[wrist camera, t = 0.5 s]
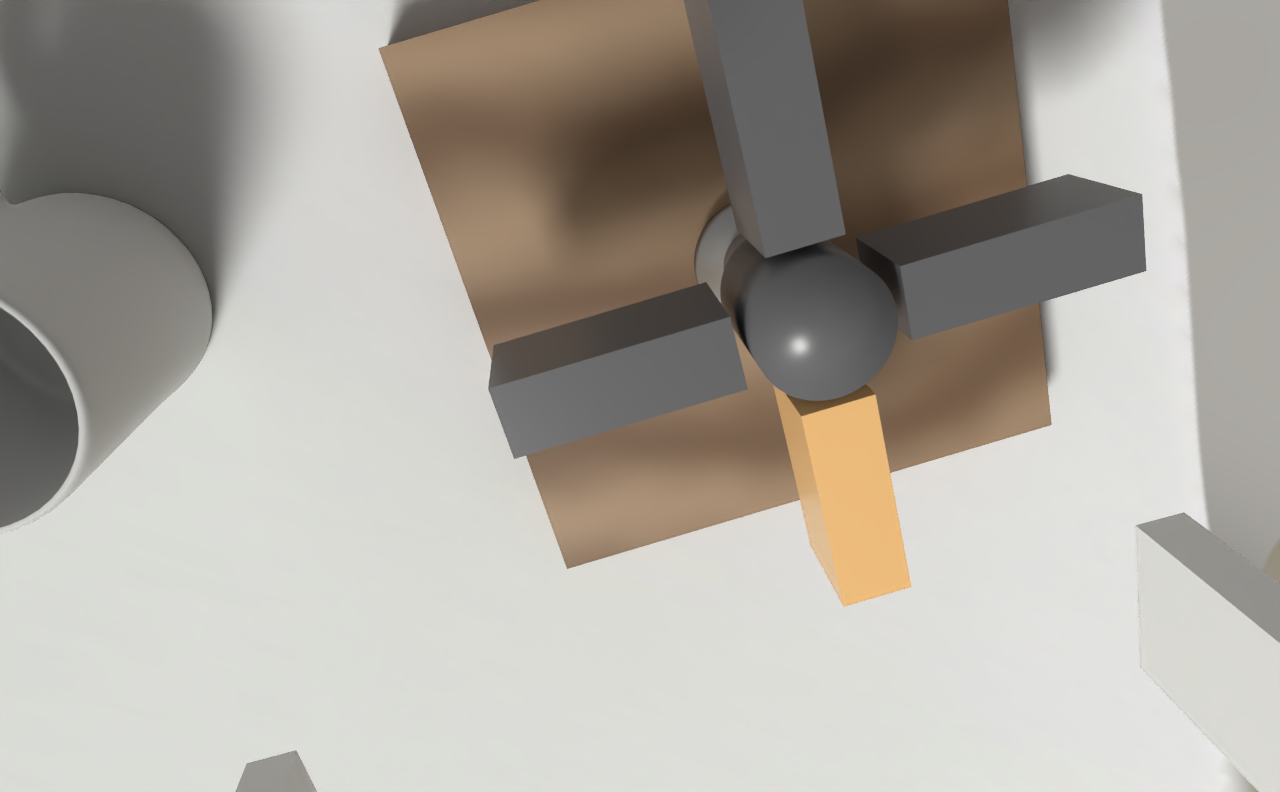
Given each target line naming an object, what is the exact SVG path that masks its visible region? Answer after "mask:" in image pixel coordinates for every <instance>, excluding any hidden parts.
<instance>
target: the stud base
mask: <svg viewBox="0 0 1280 792" xmlns="http://www.w3.org/2000/svg"><path fill="white" fill-rule="evenodd" d="M802 1H803V6H804V12H805V17H806V22H807V28H808V33H809V39H810V44H811V49H812V55H813V60H814V66H815V71H816V76H817V82H818V87H819V92H820V98H821V103H822V109H823V114H824V119H825V125H826V130H827V136H828V141H829V146H830V152H831V157H832V162H833V168H834V173H835V179H836V184H837V189H838V195H839V200H840V206H841V211H842V216H843V222H844V227H845V233H846V234H845V235H842V236H839V237H835V238H832V239H829V240H830V241H831V242H833V243H834V244H835V245H837V246H838V247H840V248H841V249H842V250H844V251H845V252H847V253H848V254H849V255H851V256H852V257H854V258H855V259H856V260H858V261H859V262H860V259H859V254H858V248H857V243H856V237H859V236H862V235H866V234H869V233H872V232H876V231H879V230H883V229H886V228H889V227H893V226H896V225H899V224H903V223H906V222H909V221H913V220H916V219H920V218H923V217H926V216H930V215H933V214H936V213H940V212H943V211H946V210H950V209H953V208H956V207H960V206H963V205H967V204H970V203H973V202H977V201H980V200H983V199H987V198H990V197H993V196H997V195H1000V194H1004V193H1007V192H1010V191H1014V190H1017V189H1020V188H1024V187H1027V183H1026V173H1025V163H1024V154H1023V144H1022V134H1021V125H1020V115H1019V105H1018V96H1017V86H1016V76H1015V66H1014V57H1013V47H1012V37H1011V28H1010V18H1009V8H1008V0H802ZM379 51H380V54H381V57H382V59H383V62H384V65H385V68H386V70H387V73H388V76H389V79H390V81H391V84H392V87H393V90H394V93H395V95H396V98H397V101H398V104H399V106H400V109H401V112H402V115H403V117H404V120H405V123H406V126H407V128H408V131H409V134H410V137H411V139H412V142H413V145H414V148H415V150H416V153H417V156H418V159H419V161H420V164H421V167H422V170H423V172H424V175H425V178H426V181H427V183H428V186H429V189H430V192H431V195H432V197H433V200H434V203H435V206H436V208H437V211H438V214H439V217H440V219H441V222H442V225H443V228H444V230H445V233H446V236H447V239H448V241H449V244H450V247H451V250H452V252H453V255H454V258H455V261H456V263H457V266H458V269H459V272H460V274H461V277H462V280H463V283H464V285H465V288H466V291H467V294H468V297H469V299H470V302H471V305H472V308H473V310H474V313H475V316H476V319H477V321H478V324H479V327H480V330H481V332H482V335H483V338H484V341H485V343H486V346H487V349H488V352H489V354H490V357H491V360H492V355H493V347H494V345H496V344H500V343H503V342H506V341H510V340H513V339H516V338H520V337H523V336H526V335H530V334H533V333H537V332H540V331H543V330H547V329H550V328H553V327H557V326H560V325H563V324H567V323H570V322H573V321H577V320H580V319H584V318H587V317H590V316H594V315H597V314H600V313H604V312H607V311H610V310H614V309H617V308H621V307H624V306H627V305H631V304H634V303H637V302H641V301H644V300H647V299H651V298H654V297H657V296H661V295H664V294H668V293H671V292H674V291H678V290H681V289H684V288H688V287H691V286H694V285H698V284H701V283H704V282H707V284H708V285H709V287H710V288H711V290H712V291H713V293H714V294H715V296H716V297H717V298H718V300H719V301H720V303H721V298H720V287H721V279H722V275H723V272H724V269H725V266H726V264H727V262H728V260H729V258H730V257H731V255H732V254H733V252H734V251H735V250H736V249H737V248H738V246H739V245H740V244H741V243H743V242H744V241H745V240H746V238H745V237H744V236H743V235H742V234H741V233H740V232H739V231H738V230H737V228H736V223H735V219H734V215H733V210H732V206H731V202H730V198H729V193H728V189H727V185H726V181H725V176H724V172H723V168H722V163H721V159H720V155H719V151H718V146H717V142H716V138H715V133H714V129H713V125H712V121H711V116H710V112H709V108H708V103H707V99H706V95H705V91H704V86H703V82H702V78H701V73H700V69H699V65H698V61H697V56H696V52H695V48H694V43H693V39H692V35H691V31H690V26H689V22H688V18H687V13H686V9H685V5H684V1H683V0H539V1H535V2H532V3H529V4H525V5H522V6H519V7H515V8H512V9H509V10H505V11H502V12H499V13H495V14H492V15H488V16H485V17H482V18H478V19H475V20H472V21H468V22H465V23H462V24H458V25H455V26H452V27H448V28H445V29H442V30H438V31H435V32H431V33H428V34H425V35H421V36H418V37H415V38H411V39H408V40H405V41H401V42H398V43H395V44H391V45H388V46H385V47H381V48H379ZM733 331H734V335H735V339H736V343H737V347H738V351H739V355H740V359H741V363H742V367H743V371H744V375H745V379H746V383H747V388H748V389H747V390H744V391H741V392H737V393H734V394H731V395H727V396H724V397H721V398H717V399H714V400H710V401H707V402H704V403H700V404H697V405H694V406H690V407H687V408H684V409H680V410H677V411H673V412H670V413H667V414H663V415H660V416H657V417H653V418H650V419H647V420H643V421H640V422H636V423H633V424H630V425H626V426H623V427H620V428H616V429H613V430H610V431H606V432H603V433H599V434H596V435H593V436H589V437H586V438H583V439H579V440H576V441H573V442H569V443H566V444H562V445H559V446H556V447H552V448H549V449H546V450H542V451H539V452H536V453H532V454H529V455H526V456H527V459H528V462H529V465H530V467H531V470H532V473H533V476H534V478H535V481H536V484H537V487H538V490H539V492H540V495H541V498H542V501H543V503H544V506H545V509H546V512H547V514H548V517H549V520H550V523H551V525H552V528H553V531H554V534H555V536H556V539H557V542H558V545H559V547H560V550H561V553H562V556H563V558H564V561H565V564H566V567H567V569H568V568H571V567H575V566H578V565H582V564H585V563H588V562H592V561H595V560H598V559H602V558H605V557H608V556H612V555H615V554H619V553H622V552H625V551H629V550H632V549H635V548H639V547H642V546H645V545H649V544H652V543H656V542H659V541H662V540H666V539H669V538H672V537H676V536H679V535H682V534H686V533H689V532H693V531H696V530H699V529H703V528H706V527H709V526H713V525H716V524H719V523H723V522H726V521H730V520H733V519H736V518H740V517H743V516H746V515H750V514H753V513H756V512H760V511H763V510H767V509H770V508H773V507H777V506H780V505H783V504H787V503H790V502H793V501H797V500H800V498H799V493H798V489H797V485H796V480H795V476H794V472H793V468H792V463H791V459H790V455H789V450H788V446H787V442H786V438H785V433H784V429H783V425H782V420H781V416H780V412H779V408H778V403H777V399H776V395H775V390H774V386H773V384H772V383H771V382H770V381H769V380H768V379H767V378H766V377H765V375H764V374H763V372H762V371H761V369H760V368H759V366H758V365H757V363H756V362H755V360H754V359H753V357H752V356H751V354H750V353H749V351H748V350H747V348H746V347H745V345H744V344H743V342H742V341H741V339H740V338H739V336H738V335H737V333H736V332H735V330H734V329H733ZM866 385H867V386H868V387H869V388H870V389H871V390H872V391H873V392H874V393H875V394H876V399H877V405H878V410H879V416H880V421H881V426H882V432H883V437H884V443H885V448H886V453H887V459H888V464H889V469H890V473H891V472H894V471H898V470H901V469H904V468H908V467H911V466H915V465H918V464H921V463H925V462H928V461H931V460H935V459H938V458H941V457H945V456H948V455H952V454H955V453H958V452H962V451H965V450H968V449H972V448H975V447H979V446H982V445H985V444H989V443H992V442H995V441H999V440H1002V439H1005V438H1009V437H1012V436H1016V435H1019V434H1022V433H1026V432H1029V431H1032V430H1036V429H1039V428H1042V427H1046V426H1049V425H1051V415H1050V405H1049V396H1048V386H1047V376H1046V367H1045V357H1044V347H1043V337H1042V328H1041V318H1040V308H1039V303H1037V304H1033V305H1030V306H1026V307H1023V308H1020V309H1016V310H1013V311H1010V312H1006V313H1003V314H1000V315H996V316H993V317H989V318H986V319H983V320H979V321H976V322H973V323H969V324H966V325H963V326H959V327H956V328H952V329H949V330H946V331H942V332H939V333H936V334H932V335H929V336H926V337H922V338H919V339H916V340H911V339H910V338H909V337H907V336H906V335H905V334H904V333H902V332H901V331H900V330H899V329H898V330H897V336H896V340H895V343H894V347H893V349H892V351H891V354H890V356H889V358H888V359H887V361H886V363H885V364H884V366H883V367H882V368H881V370H880V371H879V372H878V373H877V374H876V375H875V376H874V377H873V378H872V379H871V380H870V381H869V382H868V383H866Z"/></svg>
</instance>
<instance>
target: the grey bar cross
mask: <svg viewBox="0 0 1280 792" xmlns="http://www.w3.org/2000/svg"><path fill="white" fill-rule="evenodd" d="M683 1H684V5H685V9H686V13H687V18H688V22H689V26H690V31H691V35H692V39H693V43H694V48H695V52H696V56H697V61H698V65H699V69H700V73H701V78H702V82H703V86H704V91H705V95H706V99H707V103H708V108H709V112H710V116H711V121H712V125H713V129H714V133H715V138H716V142H717V146H718V151H719V155H720V159H721V163H722V168H723V172H724V176H725V181H726V185H727V189H728V193H729V198H730V202H731V206H732V210H733V215H734V219H735V223H736V228H737V230H738V231H739V232H740V233H741V234H742V235H743V236H744V237H745V238H746V240H745V241H744V242H743V243H741V244H740V245H739V246H738V248H737V249H736V250H735V251H734V252H733V254H732V255H731V257H730V258H729V260H728V262H727V264H726V266H725V269H724V272H723V275H722V279H721V287H720V298H721V303H720V301H719V300H718V298H717V297H716V296H715V294H714V293H713V291H712V290H711V288H710V287H709V285H708V284H707V282H704V283H701V284H698V285H694V286H691V287H688V288H684V289H681V290H678V291H674V292H671V293H668V294H664V295H661V296H657V297H654V298H651V299H647V300H644V301H641V302H637V303H634V304H631V305H627V306H624V307H621V308H617V309H614V310H610V311H607V312H604V313H600V314H597V315H594V316H590V317H587V318H584V319H580V320H577V321H573V322H570V323H567V324H563V325H560V326H557V327H553V328H550V329H547V330H543V331H540V332H537V333H533V334H530V335H526V336H523V337H520V338H516V339H513V340H510V341H506V342H503V343H500V344H496V345H494V347H493V355H492V363H491V371H490V380H489V388H488V389H489V392H490V394H491V397H492V400H493V403H494V405H495V408H496V411H497V413H498V416H499V419H500V421H501V424H502V427H503V430H504V432H505V435H506V438H507V440H508V443H509V446H510V449H511V451H512V454H513V457H514V459H515V458H519V457H522V456H526V455H529V454H532V453H536V452H539V451H542V450H546V449H549V448H552V447H556V446H559V445H562V444H566V443H569V442H573V441H576V440H579V439H583V438H586V437H589V436H593V435H596V434H599V433H603V432H606V431H610V430H613V429H616V428H620V427H623V426H626V425H630V424H633V423H636V422H640V421H643V420H647V419H650V418H653V417H657V416H660V415H663V414H667V413H670V412H673V411H677V410H680V409H684V408H687V407H690V406H694V405H697V404H700V403H704V402H707V401H710V400H714V399H717V398H721V397H724V396H727V395H731V394H734V393H737V392H741V391H744V390H747V389H748V388H747V383H746V379H745V375H744V371H743V367H742V363H741V359H740V355H739V351H738V347H737V343H736V339H735V335H734V331H733V329H734V330H735V332H736V333H737V335H738V336H739V338H740V339H741V341H742V342H743V344H744V345H745V347H746V348H747V350H748V351H749V353H750V354H751V356H752V357H753V359H754V360H755V362H756V363H757V365H758V366H759V368H760V369H761V371H762V372H763V374H764V375H765V377H766V378H767V379H768V380H769V381H770V382H771V383H772V384H773V386H774V390H775V395H776V399H777V403H778V408H779V412H780V416H781V420H782V425H783V429H784V433H785V438H786V442H787V446H788V450H789V455H790V459H791V463H792V468H793V472H794V476H795V480H796V485H797V489H798V493H799V498H800V502H801V506H802V510H803V515H804V519H805V523H806V528H807V532H808V536H809V540H810V545H811V547H812V549H813V551H814V553H815V554H816V556H817V558H818V560H819V562H820V564H821V566H822V567H823V569H824V571H825V573H826V575H827V577H828V579H829V580H830V582H831V584H832V586H833V588H834V590H835V592H836V593H837V595H838V597H839V599H840V601H841V603H842V605H843V606H844V607H845V606H848V605H851V604H855V603H858V602H862V601H865V600H868V599H872V598H875V597H878V596H882V595H885V594H888V593H892V592H895V591H899V590H902V589H905V588H909V587H911V583H910V577H909V572H908V566H907V561H906V556H905V550H904V545H903V540H902V534H901V529H900V523H899V518H898V513H897V507H896V502H895V496H894V491H893V486H892V480H891V475H890V469H889V464H888V459H887V453H886V448H885V443H884V437H883V432H882V426H881V421H880V416H879V410H878V405H877V399H876V394H875V393H874V392H873V391H872V390H871V389H870V388H869V387H868V386H867V385H866V383H868V382H869V381H870V380H871V379H872V378H873V377H874V376H875V375H876V374H877V373H878V372H879V371H880V370H881V368H882V367H883V366H884V364H885V363H886V361H887V359H888V358H889V356H890V354H891V351H892V349H893V347H894V343H895V340H896V336H897V330H898V329H899V330H900V331H901V332H902V333H904V334H905V335H906V336H907V337H909V338H910V339H911V340H916V339H919V338H922V337H926V336H929V335H932V334H936V333H939V332H942V331H946V330H949V329H952V328H956V327H959V326H963V325H966V324H969V323H973V322H976V321H979V320H983V319H986V318H989V317H993V316H996V315H1000V314H1003V313H1006V312H1010V311H1013V310H1016V309H1020V308H1023V307H1026V306H1030V305H1033V304H1037V303H1040V302H1043V301H1047V300H1050V299H1053V298H1057V297H1060V296H1063V295H1067V294H1070V293H1074V292H1077V291H1080V290H1084V289H1087V288H1090V287H1094V286H1097V285H1100V284H1104V283H1107V282H1111V281H1114V280H1117V279H1121V278H1124V277H1127V276H1131V275H1134V274H1137V273H1141V272H1144V271H1146V258H1145V239H1144V221H1143V202H1142V194H1140V193H1136V192H1132V191H1128V190H1125V189H1121V188H1117V187H1114V186H1110V185H1106V184H1103V183H1099V182H1095V181H1092V180H1088V179H1084V178H1080V177H1077V176H1073V175H1069V174H1067V175H1064V176H1061V177H1057V178H1054V179H1051V180H1047V181H1044V182H1040V183H1037V184H1034V185H1030V186H1027V187H1024V188H1020V189H1017V190H1014V191H1010V192H1007V193H1004V194H1000V195H997V196H993V197H990V198H987V199H983V200H980V201H977V202H973V203H970V204H967V205H963V206H960V207H956V208H953V209H950V210H946V211H943V212H940V213H936V214H933V215H930V216H926V217H923V218H920V219H916V220H913V221H909V222H906V223H903V224H899V225H896V226H893V227H889V228H886V229H883V230H879V231H876V232H872V233H869V234H866V235H862V236H859V237H856V243H857V248H858V254H859V259H860V262H859V261H858V260H856V259H855V258H854V257H852V256H851V255H849V254H848V253H847V252H845V251H844V250H842V249H841V248H840V247H838V246H837V245H835V244H834V243H833V242H831V241H830V240H829V239H832V238H835V237H839V236H842V235H845V234H846V233H845V227H844V222H843V216H842V211H841V206H840V200H839V195H838V189H837V184H836V179H835V173H834V168H833V162H832V157H831V152H830V146H829V141H828V136H827V130H826V125H825V119H824V114H823V109H822V103H821V98H820V92H819V87H818V82H817V76H816V71H815V66H814V60H813V55H812V49H811V44H810V39H809V33H808V28H807V22H806V17H805V12H804V6H803V1H802V0H683Z"/></svg>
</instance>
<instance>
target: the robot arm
mask: <svg viewBox="0 0 1280 792" xmlns="http://www.w3.org/2000/svg"><path fill="white" fill-rule="evenodd" d="M1136 555H1137V586H1138V617H1139V648H1140V668H1141V669H1142V670H1143V671H1144V672H1145V673H1146V674H1147V675H1148V676H1149V677H1150V678H1151V680H1152V681H1153V682H1154V683H1155V684H1156V685H1157V686H1158V687H1159V688H1160V689H1161V690H1162V691H1163V692H1164V693H1165V694H1166V695H1167V696H1168V697H1169V698H1170V699H1171V700H1172V701H1173V703H1174V704H1175V705H1176V706H1177V707H1178V708H1179V709H1180V710H1181V711H1182V712H1183V713H1184V714H1185V715H1186V716H1187V717H1188V718H1189V719H1190V720H1191V721H1192V722H1193V723H1194V724H1195V726H1196V727H1197V728H1198V729H1199V730H1200V731H1201V732H1202V733H1203V734H1204V735H1205V736H1206V737H1207V738H1208V739H1209V740H1210V741H1211V742H1212V743H1213V744H1214V745H1215V746H1216V747H1217V748H1218V750H1219V751H1220V752H1221V753H1222V754H1223V755H1224V756H1225V757H1226V758H1227V759H1228V760H1229V761H1230V762H1231V763H1232V764H1233V765H1234V766H1235V767H1236V768H1237V769H1238V770H1239V771H1240V773H1241V774H1242V775H1243V776H1244V777H1245V778H1246V779H1247V780H1248V781H1249V782H1250V783H1251V784H1252V785H1253V786H1254V787H1255V788H1256V789H1257V790H1258V791H1259V792H1280V583H1279V582H1278V581H1276V580H1275V579H1274V578H1272V577H1271V576H1270V575H1268V574H1267V573H1266V572H1264V571H1263V570H1261V569H1260V568H1259V567H1257V566H1256V565H1255V564H1253V563H1252V562H1250V561H1249V560H1248V559H1246V558H1245V557H1244V556H1242V555H1241V554H1239V553H1238V552H1237V551H1236V550H1234V549H1233V548H1232V547H1230V546H1229V545H1227V544H1226V543H1225V542H1223V541H1222V540H1221V539H1219V538H1218V537H1216V536H1215V535H1214V534H1213V533H1211V532H1210V531H1208V530H1207V529H1206V528H1204V527H1203V526H1202V525H1200V524H1199V523H1198V522H1196V521H1195V520H1193V519H1192V518H1191V517H1189V516H1188V515H1187V514H1185V513H1181V514H1177V515H1173V516H1169V517H1166V518H1162V519H1158V520H1154V521H1151V522H1147V523H1143V524H1139V525H1136ZM236 792H317V791H316V789H315V787H314V785H313V783H312V781H311V779H310V777H309V775H308V773H307V771H306V769H305V767H304V765H303V763H302V761H301V759H300V757H299V755H298V753H297V751H292V752H288V753H285V754H281V755H277V756H273V757H270V758H266V759H262V760H258V761H255V762H251V763H247V764H246V767H245V769H244V772H243V774H242V777H241V779H240V782H239V785H238V787H237V790H236Z"/></svg>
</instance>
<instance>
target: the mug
mask: <svg viewBox="0 0 1280 792" xmlns="http://www.w3.org/2000/svg"><path fill="white" fill-rule="evenodd" d="M211 326H212V305H211V300H210V294H209V290H208V287H207V284H206V281H205V278H204V276H203V274H202V272H201V270H200V268H199V266H198V264H197V263H196V261H195V259H194V258H193V256H192V255H191V253H190V252H189V251H188V249H187V248H186V247H185V246H184V244H183V243H182V242H181V241H180V240H179V239H178V238H177V237H176V236H175V235H174V234H173V233H172V232H171V231H170V230H169V229H168V228H167V227H165V226H164V225H163V224H161V223H160V222H159V221H158V220H156V219H155V218H153V217H151V216H150V215H148V214H147V213H145V212H143V211H142V210H140V209H137V208H135V207H133V206H131V205H129V204H127V203H124V202H121V201H118V200H115V199H112V198H108V197H103V196H99V195H93V194H84V193H58V194H52V195H46V196H41V197H37V198H34V199H31V200H28V201H24V202H21V203H18V204H15V205H14V204H11V203H9V202H8V201H7V200H6V198H5V197H4V196H3V194H2V193H1V191H0V534H2V533H5V532H9V531H12V530H15V529H18V528H21V527H23V526H25V525H27V524H30V523H32V522H34V521H36V520H38V519H39V518H41V517H42V516H44V515H46V514H47V513H49V512H50V511H52V510H53V509H54V508H56V507H57V506H58V505H59V504H60V503H61V502H63V501H64V500H65V499H66V498H67V497H68V496H70V495H71V494H72V493H73V492H74V491H75V490H76V489H77V488H78V487H79V486H80V485H81V484H82V483H83V482H84V481H85V480H86V479H87V478H88V477H89V476H90V475H91V474H92V473H93V472H94V471H95V470H96V469H97V468H98V467H99V466H100V465H101V464H102V463H103V462H104V460H105V459H106V458H107V457H108V456H109V455H110V454H111V453H112V452H113V451H114V450H115V449H116V448H117V447H118V446H119V445H120V444H121V443H122V442H123V441H124V440H125V439H126V438H127V437H128V436H129V435H130V434H131V433H132V432H133V431H134V430H135V429H136V428H137V427H138V426H139V425H140V424H141V423H142V422H143V421H144V420H145V419H146V418H147V417H148V416H149V415H150V414H151V413H152V412H153V411H154V410H155V409H156V408H157V407H158V406H159V405H160V404H161V403H162V402H164V401H165V400H166V399H167V398H168V397H169V396H170V395H171V394H172V393H173V392H175V391H176V390H177V389H178V388H179V387H180V386H181V385H182V384H183V383H184V382H185V381H186V380H187V379H188V377H189V376H190V375H191V374H192V373H193V371H194V370H195V369H196V367H197V366H198V364H199V363H200V361H201V359H202V358H203V355H204V353H205V351H206V348H207V345H208V342H209V338H210V334H211Z"/></svg>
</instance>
